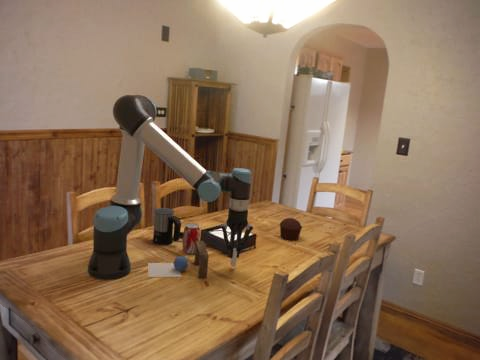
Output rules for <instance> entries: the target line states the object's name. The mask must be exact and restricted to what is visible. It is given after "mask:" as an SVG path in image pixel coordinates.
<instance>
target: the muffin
mask: <svg viewBox="0 0 480 360" xmlns="http://www.w3.org/2000/svg"><path fill="white" fill-rule="evenodd" d="M302 228H303V226H302V225H301V222H300V221H299V220H297V219H296V218H293V217H287V218H284V219H283V220H281V221H280V222H279V230H280V231H279V232H280V234H279V235H280V239H282V240H283V241H287V240H288V242H297V241H298V240H299V238H300V234H301V231H302Z"/></svg>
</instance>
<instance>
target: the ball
mask: <svg viewBox="0 0 480 360" xmlns="http://www.w3.org/2000/svg"><path fill="white" fill-rule="evenodd" d="M188 261H189V260H188V259H187V257H185V256H177V257H176V258H175V259H174V261H173V263H174V267H175V269H176V270H178V271H180V272H183V271H185V270H186V269H187V268H188V265H189V262H188Z"/></svg>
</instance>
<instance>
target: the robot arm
mask: <svg viewBox="0 0 480 360" xmlns="http://www.w3.org/2000/svg"><path fill="white" fill-rule="evenodd" d="M112 107H113V108H112V115H113V118H114V121H115V122H116V123H117V125H118V126H119V127H118V128H119V129H118V130H119V131H120V132H121V134H122V139H121V146H120V156H119V163H118V171H117V180H116V186H115V193H114V195H112V196H111V197H110V202H109V205H107V206H103V207H100V208H99V209H97V210H96V212H95V213H94V215H93V221H92V222H93V223H92V224H93V241H92V242H93V243H92V244H93V246H92V247H93V250H92V254H91V256H90V259H89V262H88V264H87V274H88V275H89V276H90V277H91V278H94V279H98V280H105V281H106V280H117V279H120V278H123V277H125V276H127V275H128V274H129V273H131V266H132V265H131V261H130V258H129V255H128V252H127V246H128V245H127V244H128V235H129V234H130V233H132V231H133V230H134V229H136V228H137V227H138V226H139V225H140V222H141V221H142V218H143V209H142V206H141V205H142V200H141V198H140V197H139V193H140V192H139V191H140V190H139V189H140V184H141V183H140V182H141V178H142V177H141V176H142V169H143V162H144V153H145V148H146V147H147V148H148V149H150V150H151V151H152V152H153V153H154V154H155V155H156V156H157V157H158V158H160V159H161V160H162V161H163V162H164V163H165V164H166V165H168V166H169V167H170V168H171V169H172V170H173V171H174V172H175V173H176V174H178V176H180V177H181V178H182V179H183V180H184V181H185V182H187V184H189V185H190V186H191V188H193V189H194V190H195V191H196V192H197V194H198V197H199V198H200V199H201V200H202V201H204V202H205V203H206V202H207V203H210V202H215V201H216V200H217V199H219V197H220V195H221V193H227V194H229V193H230V194H229V202H228V207H229V208H228V214H227V220H226V222H225V223H223V224H220V225H219V226H220V228H221V230H222V235H223V242H224V245H225V249H226V250H229V252H228V256H229V258H230V265H231V268H232V267H233V268H234V267H235V268H236V267H237V266H236V265H237V259H239V258H240V252H241V250H244V249H246V245H247V242H248V239H249V236H250V233H251V232H252V231H253V229H254V227H253V226H252V224H249V222H248V218H249V217H248V215H249V204H250V197H251V196H250V195H251V187H252V174H253V173H252V171H251V170H250V169H249V168H248V169H247V168H243V167H240V168H239V167H234V168H233V169H232V171H231V172H223V171H213V170H207V169H205V168H204V167H203V166H202V165H201V164H200V163H198V161H197V160H195V159H194V158H193V157H192V156H191V155H190V154H189V153H188V152H187V151H185V150H184V149H183V148H182V147H181V146H180V145H179V144H178V143H176V141H175V140H173V139H172V138H171V137H170V136H169V135H168V134H167V133H166V132H164V131H163V129H161V128H160V127H159V126H158V125H157V124H156V123H155V122H154V121H155V120H156V117H157V108H156V107H157V106H156V105H155V103H154V102H153V100H152V99H151V98H149V97H148V96H145V95H141V94H134V95H133V94H125V95H122V96H121V97H119V98H118V99H117V100H116V101H115V102H114V104H113V106H112ZM145 146H146V147H145ZM227 229H230V237H229V238H228V231H227ZM243 231H245V232H244V234H243ZM242 234H243V237H242ZM235 238H236V239H235Z"/></svg>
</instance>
